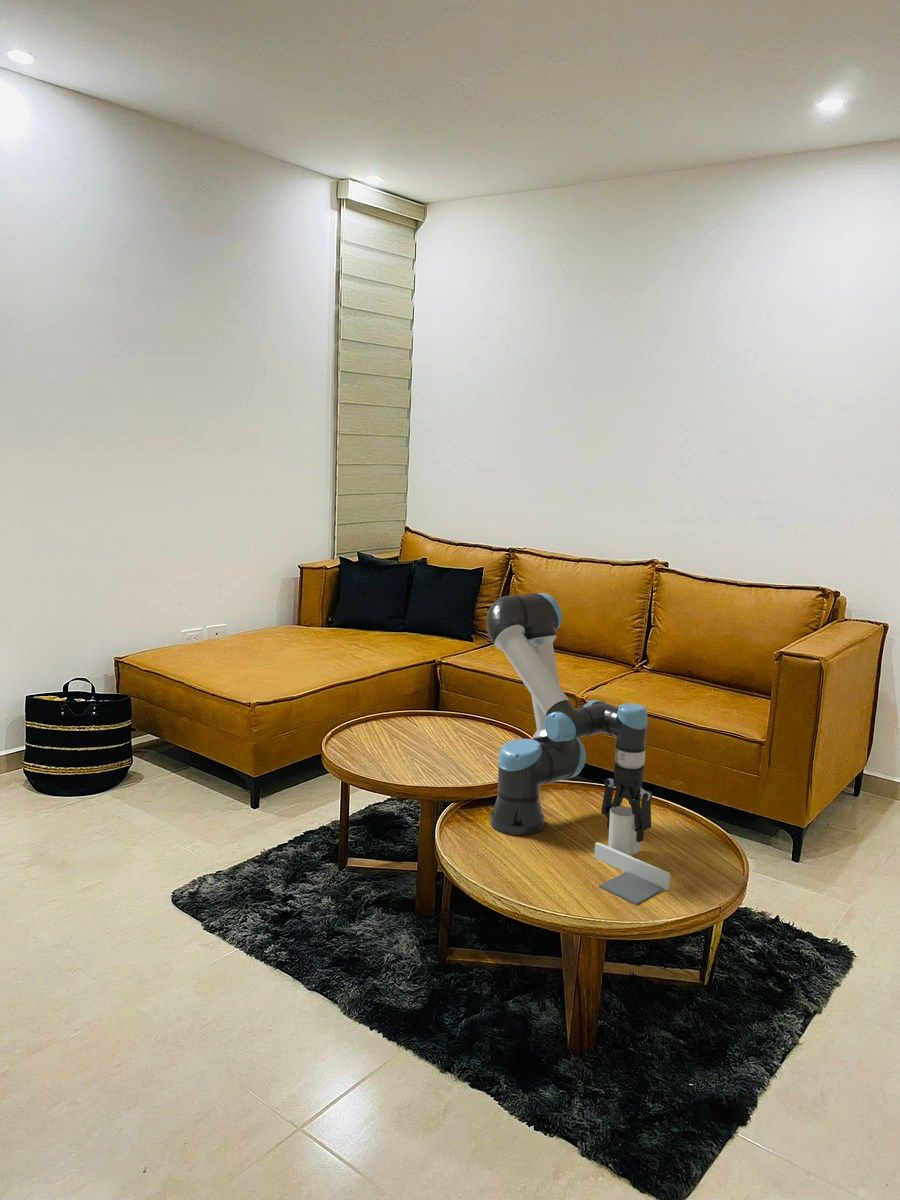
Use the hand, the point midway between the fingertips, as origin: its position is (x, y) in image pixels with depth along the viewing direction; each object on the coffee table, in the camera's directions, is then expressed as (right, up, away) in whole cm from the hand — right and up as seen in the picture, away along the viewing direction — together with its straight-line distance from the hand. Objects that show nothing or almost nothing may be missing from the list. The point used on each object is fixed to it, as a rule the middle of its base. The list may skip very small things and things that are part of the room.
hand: (624, 846), depth 235 cm
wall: (0, -4, -11) cm, 11 cm away
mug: (0, -2, 0) cm, 2 cm away
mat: (-2, -5, -19) cm, 20 cm away
